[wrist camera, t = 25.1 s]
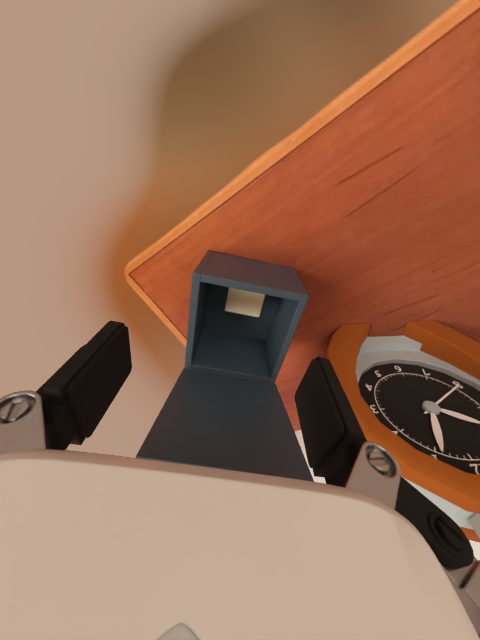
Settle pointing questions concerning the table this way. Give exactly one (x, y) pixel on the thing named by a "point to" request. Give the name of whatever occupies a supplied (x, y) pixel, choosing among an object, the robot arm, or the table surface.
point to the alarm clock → (419, 407)
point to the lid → (226, 427)
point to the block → (244, 302)
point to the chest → (242, 317)
